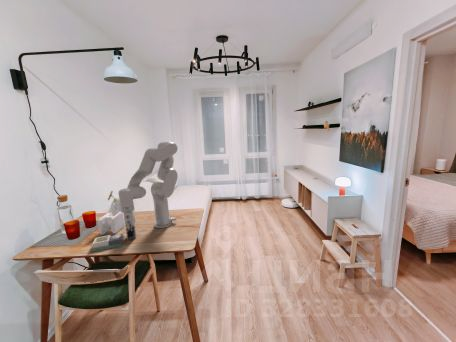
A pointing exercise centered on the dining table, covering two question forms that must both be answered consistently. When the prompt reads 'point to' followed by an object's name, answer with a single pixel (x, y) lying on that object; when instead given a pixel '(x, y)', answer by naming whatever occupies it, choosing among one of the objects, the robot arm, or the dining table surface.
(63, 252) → the dining table surface
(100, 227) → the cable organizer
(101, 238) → the header board
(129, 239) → the plug
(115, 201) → the flower in vase
